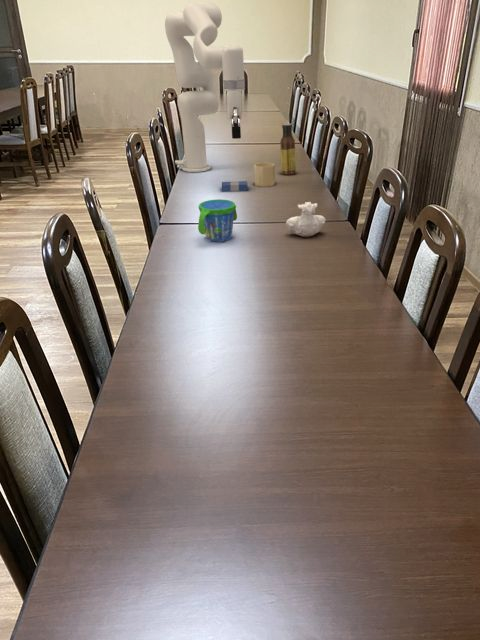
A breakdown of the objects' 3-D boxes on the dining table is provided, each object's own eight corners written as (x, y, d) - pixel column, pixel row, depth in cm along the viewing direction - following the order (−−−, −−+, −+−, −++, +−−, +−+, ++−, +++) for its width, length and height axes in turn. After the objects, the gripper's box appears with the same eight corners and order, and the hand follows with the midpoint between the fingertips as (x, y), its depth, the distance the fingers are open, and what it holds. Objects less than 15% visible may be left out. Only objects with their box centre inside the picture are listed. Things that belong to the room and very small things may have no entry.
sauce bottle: (296, 172, 233) (296, 122, 223) (295, 175, 227) (295, 125, 217) (281, 172, 233) (280, 122, 223) (279, 175, 228) (279, 125, 218)
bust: (286, 243, 161) (292, 221, 150) (282, 222, 163) (287, 199, 153) (325, 240, 163) (333, 218, 152) (320, 219, 165) (328, 196, 155)
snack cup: (213, 249, 152) (210, 213, 146) (187, 241, 158) (184, 207, 152) (249, 234, 162) (248, 201, 157) (224, 228, 168) (222, 195, 163)
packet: (221, 191, 206) (221, 185, 205) (222, 188, 211) (221, 181, 210) (247, 190, 207) (247, 184, 205) (247, 187, 211) (247, 181, 210)
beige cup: (255, 186, 212) (254, 167, 208) (254, 182, 219) (253, 162, 215) (275, 186, 212) (275, 166, 208) (273, 181, 219) (273, 162, 215)
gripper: (223, 84, 200) (226, 133, 208) (223, 87, 185) (226, 140, 193) (243, 83, 200) (245, 132, 209) (245, 87, 185) (247, 139, 194)
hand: (236, 136), depth 201 cm, fingers open, 9 cm apart
